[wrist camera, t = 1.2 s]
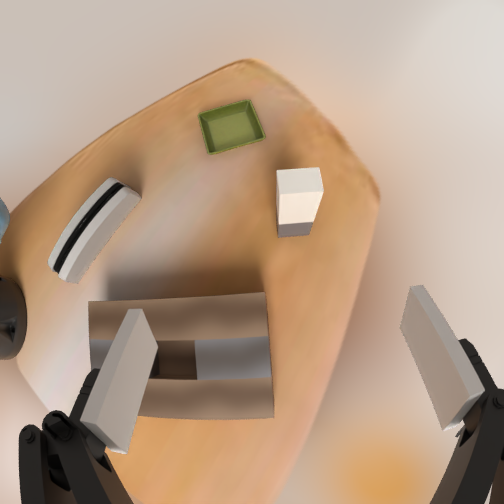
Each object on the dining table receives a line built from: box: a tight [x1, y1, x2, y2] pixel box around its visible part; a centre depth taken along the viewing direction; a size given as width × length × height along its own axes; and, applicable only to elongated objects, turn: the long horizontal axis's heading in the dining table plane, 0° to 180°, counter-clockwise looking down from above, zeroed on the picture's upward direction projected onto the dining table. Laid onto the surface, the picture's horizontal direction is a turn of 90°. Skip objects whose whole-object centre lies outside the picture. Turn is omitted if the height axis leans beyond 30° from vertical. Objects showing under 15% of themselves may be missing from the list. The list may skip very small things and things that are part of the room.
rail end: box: [276, 167, 324, 238], centre depth 33 cm, size 2×4×13 cm, turn 95°
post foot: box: [88, 292, 274, 420], centre depth 34 cm, size 14×22×5 cm, turn 94°
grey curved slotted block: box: [48, 177, 142, 284], centre depth 37 cm, size 17×5×10 cm, turn 143°
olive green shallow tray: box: [198, 100, 266, 155], centre depth 43 cm, size 9×9×2 cm
